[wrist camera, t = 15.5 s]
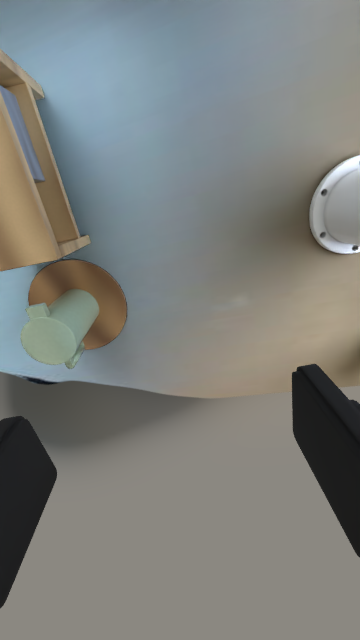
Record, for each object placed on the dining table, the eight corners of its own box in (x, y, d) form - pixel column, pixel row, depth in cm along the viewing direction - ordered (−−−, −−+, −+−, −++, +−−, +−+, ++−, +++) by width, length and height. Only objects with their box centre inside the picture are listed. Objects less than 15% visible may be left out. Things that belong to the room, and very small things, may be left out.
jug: (47, 284, 39) (5, 312, 29) (88, 276, 39) (60, 301, 29) (71, 342, 43) (41, 383, 33) (108, 334, 43) (89, 374, 33)
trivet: (73, 237, 37) (71, 237, 37) (146, 310, 42) (146, 312, 42) (10, 303, 41) (7, 304, 40) (84, 363, 46) (83, 365, 45)
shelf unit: (40, 85, 30) (-35, 16, 19) (91, 243, 38) (58, 259, 26) (-41, 104, 31) (-160, 48, 20) (24, 256, 38) (-36, 278, 27)
